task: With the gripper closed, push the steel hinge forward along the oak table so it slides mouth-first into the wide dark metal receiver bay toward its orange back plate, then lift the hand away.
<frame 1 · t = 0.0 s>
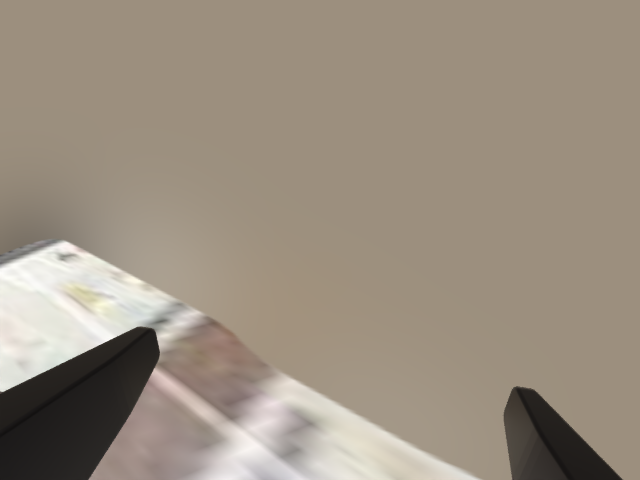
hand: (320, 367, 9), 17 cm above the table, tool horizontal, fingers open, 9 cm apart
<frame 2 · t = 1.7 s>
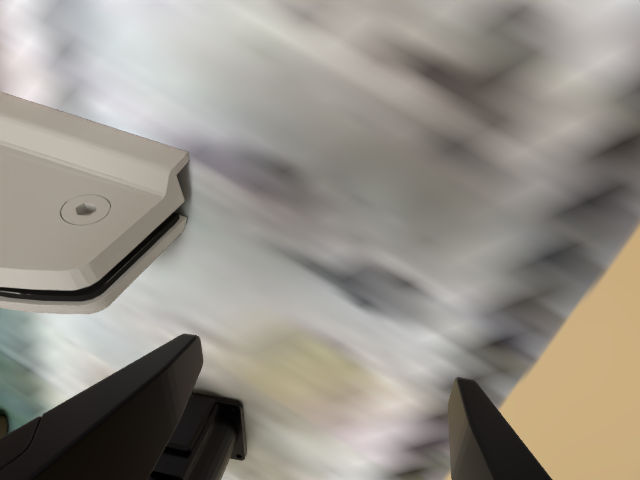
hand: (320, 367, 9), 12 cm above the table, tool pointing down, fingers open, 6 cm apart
hinge: (65, 172, 23), on the table
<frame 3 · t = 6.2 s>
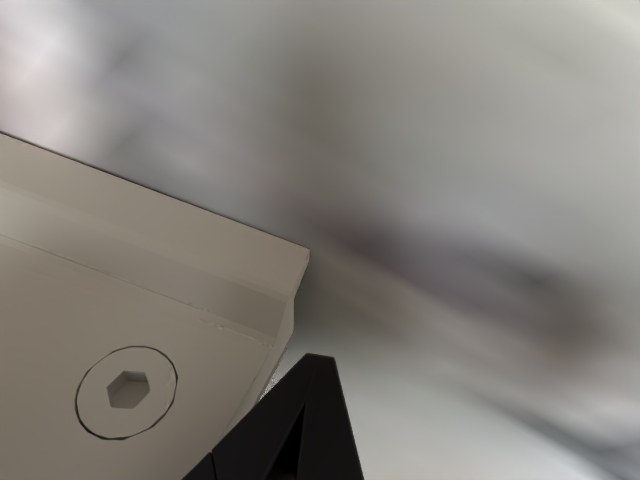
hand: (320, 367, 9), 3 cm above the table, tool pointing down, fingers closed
hinge: (76, 255, 14), on the table, touching gripper
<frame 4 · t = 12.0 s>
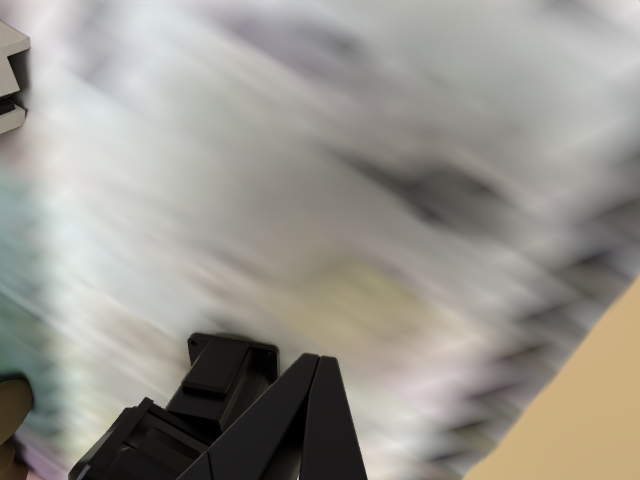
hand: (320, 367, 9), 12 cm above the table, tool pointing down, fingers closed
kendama: (0, 401, 36), on the table
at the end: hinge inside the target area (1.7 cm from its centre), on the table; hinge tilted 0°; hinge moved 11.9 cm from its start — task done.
